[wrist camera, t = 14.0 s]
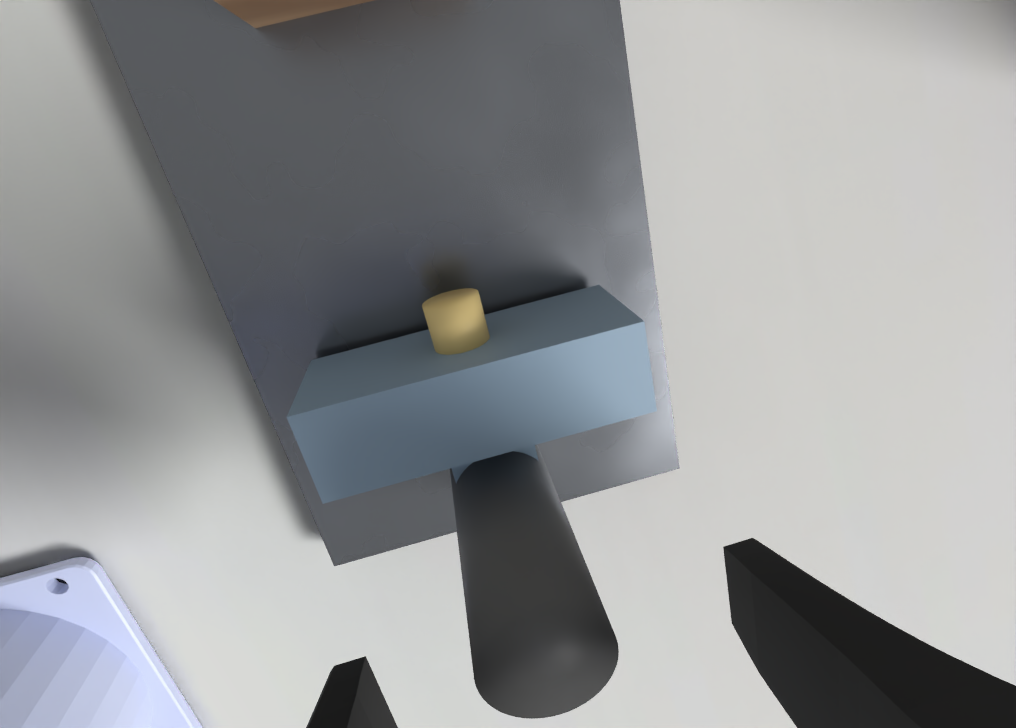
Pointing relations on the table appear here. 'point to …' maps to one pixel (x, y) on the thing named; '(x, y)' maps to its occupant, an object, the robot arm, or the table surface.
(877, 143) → the table surface
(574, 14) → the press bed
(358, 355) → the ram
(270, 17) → the brown block
